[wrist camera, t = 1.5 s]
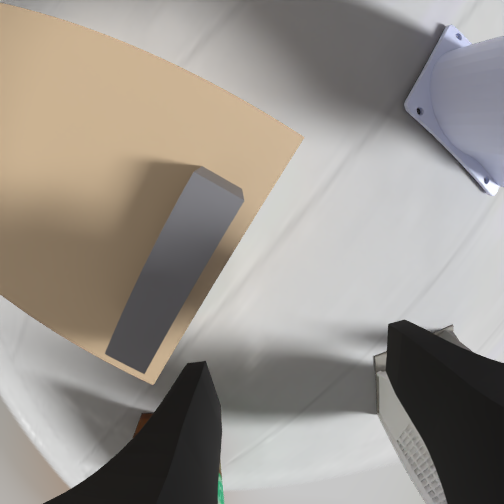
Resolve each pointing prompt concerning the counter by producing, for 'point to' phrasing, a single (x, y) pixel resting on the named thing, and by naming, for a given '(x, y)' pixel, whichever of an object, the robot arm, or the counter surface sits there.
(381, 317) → the counter surface
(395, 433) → the skyscraper
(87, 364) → the counter surface
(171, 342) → the lid
